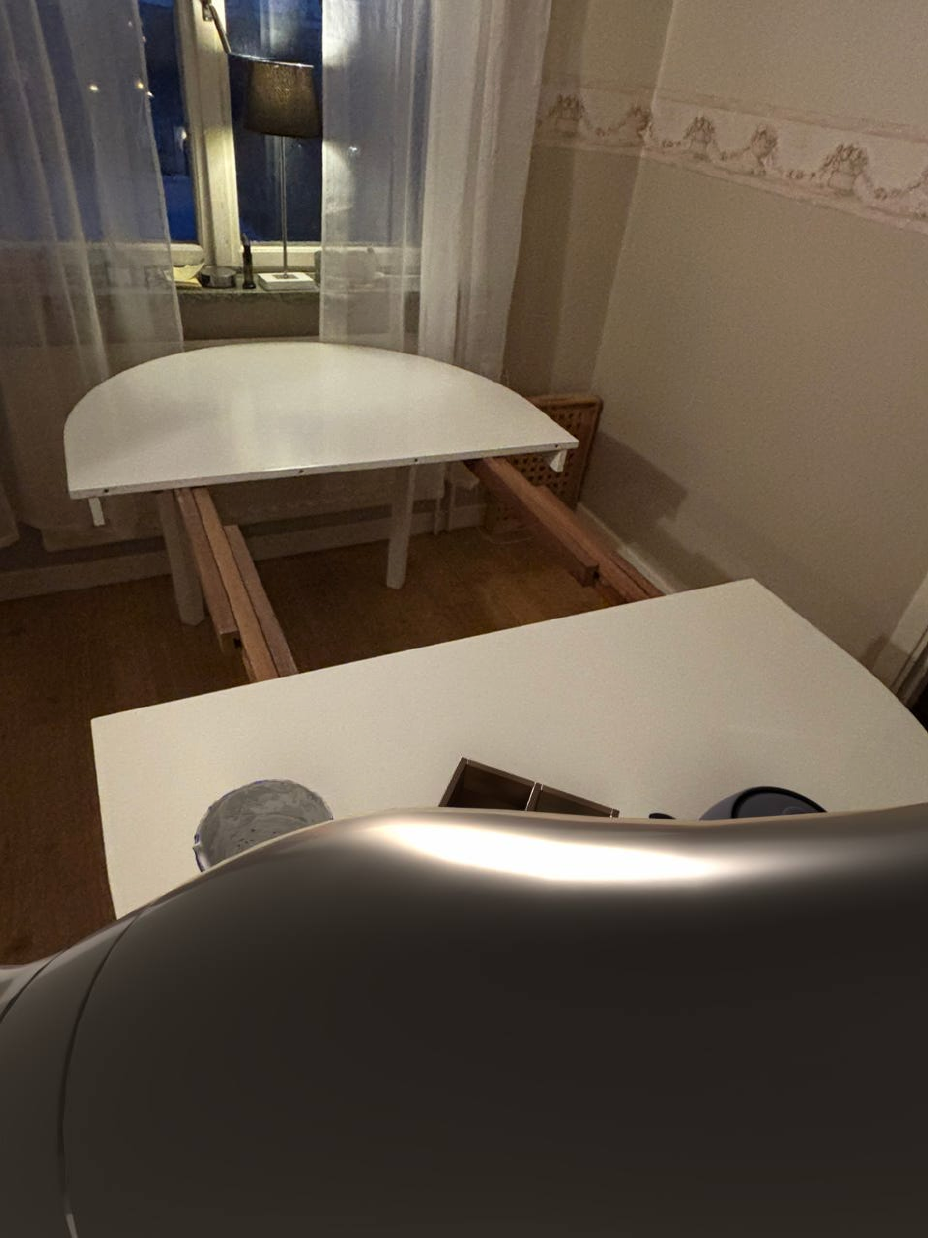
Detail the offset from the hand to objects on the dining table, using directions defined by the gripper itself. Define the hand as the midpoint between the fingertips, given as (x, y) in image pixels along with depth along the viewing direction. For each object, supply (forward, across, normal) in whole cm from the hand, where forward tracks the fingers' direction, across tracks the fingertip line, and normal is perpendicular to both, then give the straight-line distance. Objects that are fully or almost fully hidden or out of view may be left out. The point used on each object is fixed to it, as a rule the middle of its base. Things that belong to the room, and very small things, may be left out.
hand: (465, 968), depth 46 cm
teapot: (+39, -11, -10) cm, 42 cm away
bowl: (+17, +26, +12) cm, 33 cm away
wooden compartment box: (+30, +9, -2) cm, 32 cm away
